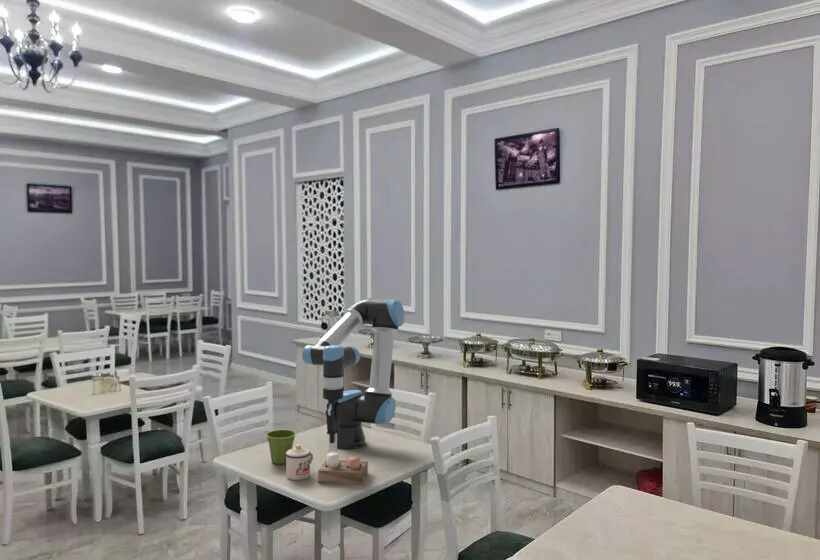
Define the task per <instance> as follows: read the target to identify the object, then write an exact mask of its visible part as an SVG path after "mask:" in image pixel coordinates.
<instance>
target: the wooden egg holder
mask: <svg viewBox="0 0 820 560" xmlns="http://www.w3.org/2000/svg"><path fill="white" fill-rule="evenodd" d="M368 467H369V463H368V460H360V469H350V468H348V459H339V467H338V468H328V467H327V458H326V459H325V461H324V462H323V463H322V464H321V466H320V468H318V472H317V475H318V476H317V484H333V485H335V484H336V485H337V484H338V485H353V486H354V485H355V486H362V485H363V484H364V481H365V479H366V477H367V475H368V471H369V470H368V469H369V468H368Z"/></svg>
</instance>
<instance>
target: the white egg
mask: <svg viewBox="0 0 820 560" xmlns="http://www.w3.org/2000/svg"><path fill="white" fill-rule="evenodd" d="M326 459H327V467H328V468H338V467H339V460H340V454H339V453H338V452H329V453H327V454H326Z"/></svg>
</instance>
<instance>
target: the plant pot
mask: <svg viewBox="0 0 820 560" xmlns="http://www.w3.org/2000/svg"><path fill="white" fill-rule="evenodd" d="M296 435H297V432H296V431H294V430H291V429H274V430H271V431H268V432H266V434H265V436H266V437H267V442H268V447H269V452H270V458H271V459H270V460H271V463H273V464H274V463H275V465H278V464H281V465H284V464H286V452H287V451H288V450H290V449H293V445H294V441H295V437H296Z"/></svg>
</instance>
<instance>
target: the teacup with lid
mask: <svg viewBox="0 0 820 560" xmlns="http://www.w3.org/2000/svg"><path fill="white" fill-rule="evenodd" d="M313 460H314V455H313V453H311V451H310V449H308V448H305V447H303V446H302V445H301V444H296V445H295V446H294V447H292V449H290V450H288V451H287V452H286V463H285V464H286V465H285V466H286V468H285V469H286V471H285V472H286V475H285V476H286V478H287V479H289V480H294V481H299V480H305V479H308V477H309V476H310V474H311V473H310V472H311V467H310V466H311V464H312V462H313Z"/></svg>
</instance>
